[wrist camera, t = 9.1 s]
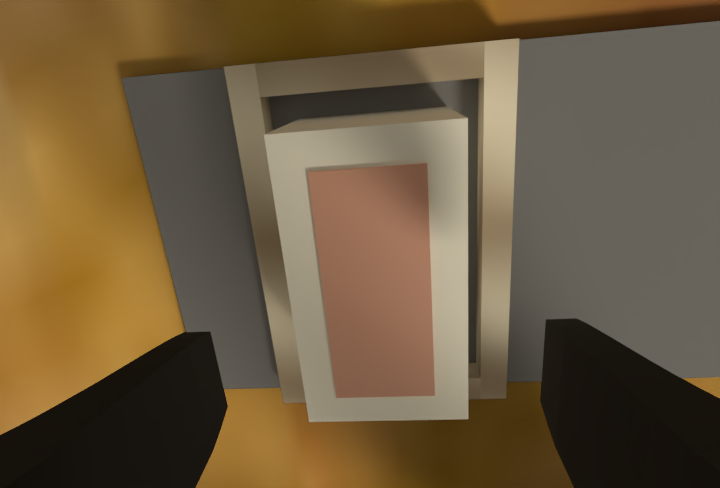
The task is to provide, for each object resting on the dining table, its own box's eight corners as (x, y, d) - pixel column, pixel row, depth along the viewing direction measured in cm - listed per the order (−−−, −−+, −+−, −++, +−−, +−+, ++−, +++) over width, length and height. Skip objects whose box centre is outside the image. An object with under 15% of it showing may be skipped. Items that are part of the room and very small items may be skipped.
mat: (1061, 360, 17) (1080, 368, 16) (205, 382, 20) (200, 389, 20) (1276, -32, 12) (1310, -36, 12) (129, 78, 16) (121, 78, 15)
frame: (500, 382, 18) (506, 398, 17) (288, 387, 19) (283, 403, 18) (510, 40, 14) (519, 38, 13) (234, 67, 15) (223, 66, 14)
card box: (299, 118, 15) (262, 135, 11) (446, 106, 15) (468, 118, 10) (328, 342, 18) (308, 424, 14) (450, 338, 18) (468, 421, 14)
